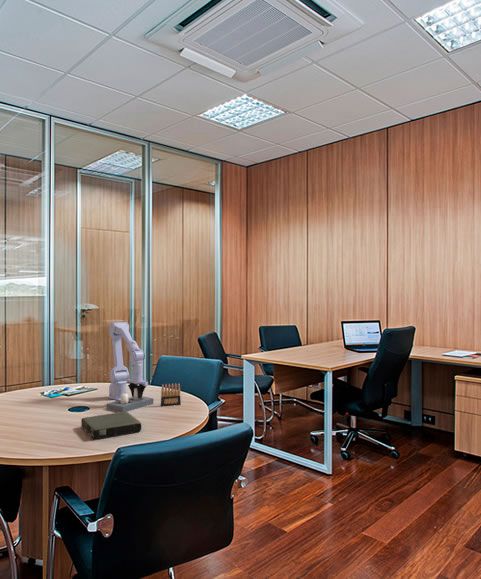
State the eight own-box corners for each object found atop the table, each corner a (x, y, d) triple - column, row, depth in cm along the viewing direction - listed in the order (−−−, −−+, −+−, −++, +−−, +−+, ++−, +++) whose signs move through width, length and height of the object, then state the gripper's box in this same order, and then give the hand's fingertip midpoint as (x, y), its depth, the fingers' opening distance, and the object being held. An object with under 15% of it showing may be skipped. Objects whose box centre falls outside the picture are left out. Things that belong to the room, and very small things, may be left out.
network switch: (75, 429, 196) (75, 418, 196) (124, 420, 211) (124, 409, 211) (95, 443, 178) (95, 431, 178) (147, 431, 193) (147, 420, 193)
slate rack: (106, 409, 229) (107, 394, 229) (137, 400, 247) (138, 387, 247) (122, 412, 222) (122, 398, 222) (153, 403, 241) (153, 390, 241)
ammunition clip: (161, 406, 235) (161, 384, 235) (160, 405, 237) (160, 383, 237) (180, 405, 239) (180, 383, 239) (180, 404, 240) (180, 382, 240)
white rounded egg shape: (131, 401, 238) (132, 388, 238) (137, 400, 241) (137, 387, 242) (137, 402, 236) (137, 389, 236) (142, 401, 239) (143, 388, 240)
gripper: (152, 372, 238) (151, 397, 238) (133, 370, 246) (133, 394, 246) (142, 374, 232) (142, 400, 232) (123, 372, 240) (123, 396, 240)
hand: (137, 397), depth 238 cm, fingers closed on white rounded egg shape, 4 cm apart
